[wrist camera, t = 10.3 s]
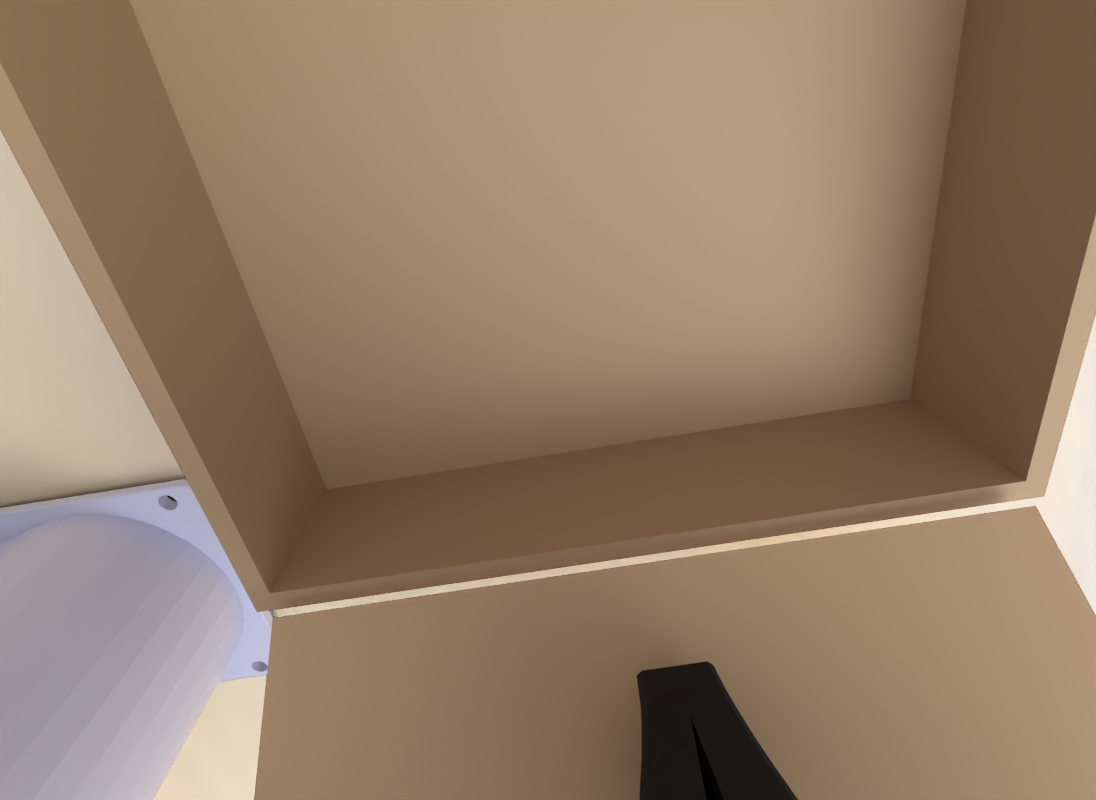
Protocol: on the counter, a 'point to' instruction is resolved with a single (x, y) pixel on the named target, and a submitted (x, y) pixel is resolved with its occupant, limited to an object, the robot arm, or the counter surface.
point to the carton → (570, 263)
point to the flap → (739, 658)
